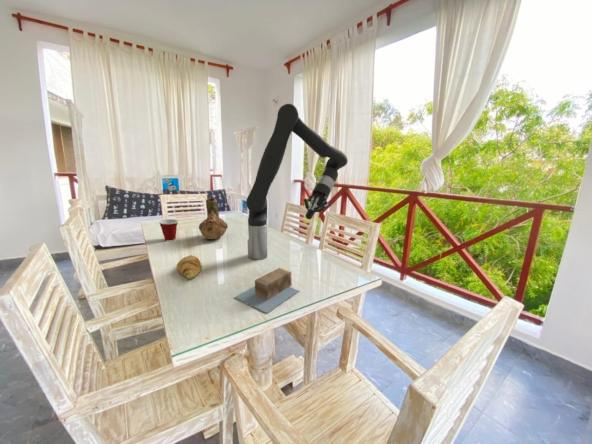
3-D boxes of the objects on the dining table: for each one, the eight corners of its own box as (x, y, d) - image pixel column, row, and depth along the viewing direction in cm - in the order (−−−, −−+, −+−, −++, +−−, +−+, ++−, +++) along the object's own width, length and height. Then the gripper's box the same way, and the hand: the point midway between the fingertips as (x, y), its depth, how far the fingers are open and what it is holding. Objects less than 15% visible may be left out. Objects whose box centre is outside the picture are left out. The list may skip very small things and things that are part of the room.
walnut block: (291, 285, 101) (267, 300, 91) (279, 281, 105) (255, 295, 94) (291, 271, 100) (266, 285, 89) (279, 267, 103) (254, 280, 93)
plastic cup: (175, 242, 153) (173, 222, 150) (157, 242, 153) (154, 222, 150) (183, 236, 163) (181, 218, 160) (166, 236, 163) (164, 218, 160)
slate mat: (266, 313, 83) (266, 312, 83) (234, 298, 93) (234, 297, 93) (299, 291, 97) (299, 290, 97) (268, 279, 107) (268, 278, 107)
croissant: (199, 287, 108) (207, 270, 107) (174, 281, 103) (183, 263, 102) (194, 267, 126) (201, 252, 126) (173, 261, 121) (181, 246, 121)
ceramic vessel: (198, 246, 145) (194, 203, 139) (201, 234, 170) (197, 196, 163) (229, 244, 150) (226, 202, 144) (227, 232, 174) (225, 195, 168)
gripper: (308, 181, 119) (292, 211, 112) (333, 183, 111) (317, 215, 105) (314, 191, 124) (299, 220, 118) (338, 194, 116) (323, 225, 110)
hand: (307, 218), depth 111 cm, fingers closed
